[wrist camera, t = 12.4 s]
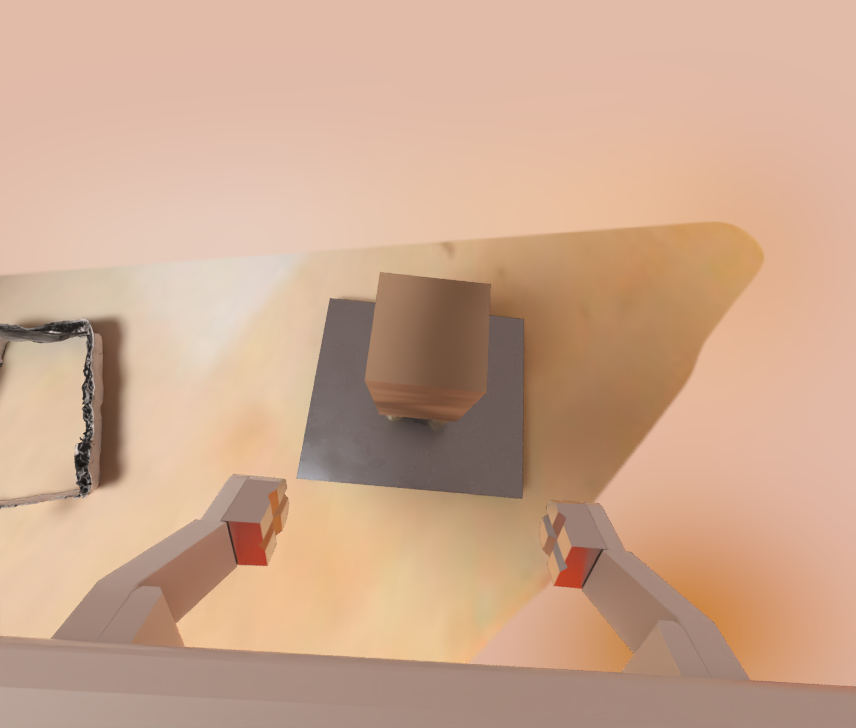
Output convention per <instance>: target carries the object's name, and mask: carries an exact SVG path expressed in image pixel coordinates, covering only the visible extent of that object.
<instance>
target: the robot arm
mask: <svg viewBox="0 0 856 728" xmlns="http://www.w3.org/2000/svg"><path fill="white" fill-rule="evenodd" d="M286 489H287V484H286V480H285V479H279V478H270V477H261V476H249V475H239V474H233V475H232V476H231V477H229V478H228V480H227V481H226V483H225V484H224V486H223V487H222V489H221V490H220V492H219V493H218V495H217V496H216V498H215V499H214V501H213V502H212V504H211V505H210V507H209V508H208V510H207V511H206V513H205V514H204V516H203V517H202V519H201V520H194V521H192V522H191V523H189V524H188V525H186V526H185V527H183V528H181V529H180V530H178V531H177V532H175V533H173V534H172V535H170V536H169V537H167V538H165V539H164V540H162V541H161V542H159V543H158V544H156V545H154V546H153V547H151V548H150V549H148V550H146V551H145V552H143V553H142V554H140V555H139V556H137V557H135V558H134V559H132V560H131V561H129V562H127V563H126V564H124V565H123V566H121V567H120V568H118V569H116V570H115V571H113V572H112V573H110V574H108V575H107V576H105V577H104V578H102V579H101V580H99V581H98V582H97V583H96V584H95V585H94V587H93V588H92V589H91V590H90V592H89V593H88V594H87V595H86V596H85V598H84V599H83V600H82V601H81V602H80V604H79V605H78V606H77V607H76V609H75V610H74V611H73V612H72V613H71V615H70V616H69V617H68V618H67V620H66V621H65V622H64V623H63V624H62V626H61V627H60V628H59V629H58V630H57V632H56V633H55V634H54V635H53V637H52V638H51V639H45V638H28V637H12V636H0V728H856V687H854V686H835V685H819V684H802V683H787V682H770V681H752V680H750V679H749V677H748V676H747V674H746V672H745V671H744V669H743V668H742V666H741V664H740V663H739V661H738V660H737V658H736V657H735V655H734V653H733V652H732V650H731V649H730V647H729V646H728V644H727V642H726V641H725V639H724V637H723V636H722V635H721V633H720V631H719V630H718V628H717V626H716V625H715V623H714V622H713V621H712V620H710V619H709V618H708V617H707V616H706V615H704V614H703V613H702V612H701V611H700V610H699V609H697V608H696V607H695V606H694V605H693V604H691V603H690V602H689V601H688V600H687V599H686V598H684V597H683V596H682V595H681V594H680V593H679V592H677V591H676V590H675V589H674V588H673V587H671V586H670V585H669V584H668V583H667V582H666V581H664V580H663V579H662V578H661V577H660V576H659V575H657V574H656V573H655V572H654V571H653V570H652V569H650V568H649V567H648V566H647V565H646V564H644V563H643V562H642V561H641V560H640V559H638V558H637V557H636V556H635V555H634V554H633V553H631V552H627V551H625V549H624V547H623V545H622V543H621V541H620V539H619V537H618V535H617V533H616V532H615V530H614V528H613V526H612V524H611V522H610V520H609V518H608V516H607V514H606V513H605V511H604V509H603V507H602V506H601V505H600V504H599V503H587V502H575V501H560V500H550V501H549V502H548V504H547V507H546V509H547V512H548V514H547V515H546V516H544V517H543V518H542V521H541V524H540V541H541V545H542V549H543V550H544V551H545V553H546V554H547V555H548V556H549V557H550V558H549V560H548V563H547V565H548V569H549V572H550V575H551V579H552V582H553V585H554V586H561V587H570V588H581V589H582V591H583V592H584V594H585V595H586V596H587V597H588V598H589V600H590V601H591V602H592V603H593V604H594V606H595V607H596V608H597V609H598V611H599V612H600V613H601V614H602V615H603V617H604V618H605V619H606V620H607V622H608V623H609V624H610V625H611V627H612V628H613V629H614V630H615V631H616V633H617V634H618V635H619V636H620V638H621V639H622V640H623V641H624V643H625V644H626V645H627V646H628V647H629V649H630V650H631V651H632V652H633V656H632V657H631V658H630V660H629V661H628V662H627V664H626V665H625V667H624V669H623V670H622V672H623V673H617V672H599V671H583V670H566V669H549V668H532V667H515V666H500V665H499V666H498V665H482V664H467V663H450V662H433V661H416V660H400V659H383V658H366V657H349V656H332V655H315V654H298V653H281V652H264V651H247V650H230V649H214V648H197V647H184V643H183V639H182V637H181V635H180V632H179V630H178V628H177V625H176V623H177V622H178V621H179V620H180V619H181V618H182V617H183V616H184V615H185V614H186V613H187V612H189V611H190V610H191V609H192V608H193V607H194V606H195V605H196V604H197V603H198V602H199V601H200V600H201V599H203V598H204V597H205V596H206V595H207V594H208V593H209V592H210V591H211V590H212V589H213V588H214V587H215V586H217V585H218V584H219V583H220V582H221V581H222V580H223V579H224V578H225V577H226V576H227V575H228V574H229V573H231V572H232V571H233V570H234V569H235V568H236V567H237V565H256V566H268V564H269V561H270V559H271V557H272V554H273V552H274V550H275V547H276V545H277V543H276V535H277V534H279V533H280V532H281V531H282V530H283V528H284V525H285V523H286V519H287V515H288V510H289V500H288V497H287V496H286V495H285V494H284V493H285V491H286Z"/></svg>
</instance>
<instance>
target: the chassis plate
mask: <svg viewBox="0 0 856 728" xmlns="http://www.w3.org/2000/svg"><path fill="white" fill-rule="evenodd" d="M375 304H376V303H369V302H360V301H350V300H341V299H332V298H330V301H329V306H328V312H327V317H326V323H325V328H324V333H323V339H322V344H321V349H320V355H319V360H318V366H317V371H316V376H315V382H314V387H313V392H312V398H311V403H310V409H309V414H308V419H307V425H306V430H305V435H304V441H303V446H302V451H301V457H300V462H299V468H298V473H297V478H296V479H308V480H319V481H330V482H341V483H352V484H364V485H375V486H386V487H397V488H409V489H420V490H431V491H442V492H453V493H465V494H476V495H487V496H498V497H509V498H521V499H522V497H523V371H524V319H519V318H510V317H500V316H491V315H489V341H488V367H487V392H486V393H485V394H484V395H483V396H482V397H481V398H480V399H479V400H478V401H477V402H476V403H475V404H474V405H473V406H472V407H471V408H470V409H469V410H468V411H467V412H466V413H465V414H464V415H463V416H462V417H461V418H460V419H459V420H458V421H457V422H452V421H441V420H431V419H420V418H410V417H399V416H389V415H379V412H378V410H377V408H376V405H375V403H374V401H373V399H372V396H371V394H370V392H369V389H368V387H367V385H366V382H365V374H366V367H367V360H368V353H369V346H370V339H371V332H372V325H373V318H374V311H375Z"/></svg>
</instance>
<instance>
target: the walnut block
mask: <svg viewBox="0 0 856 728" xmlns="http://www.w3.org/2000/svg"><path fill="white" fill-rule="evenodd" d="M490 288H491V284H483V283H474V282H465V281H456V280H447V279H438V278H428V277H419V276H410V275H401V274H392V273H383V272H380V276H379V283H378V290H377V297H376V304H375V311H374V318H373V325H372V332H371V339H370V346H369V353H368V360H367V367H366V374H365V382H366V385H367V387H368V389H369V392H370V394H371V396H372V399H373V401H374V403H375V405H376V408H377V410H378V412H379V415H389V416H399V417H410V418H420V419H431V420H441V421H452V422H457V421H458V420H459V419H460V418H461V417H462V416H463V415H464V414H465V413H466V412H467V411H468V410H469V409H470V408H471V407H472V406H473V405H474V404H475V403H476V402H477V401H478V400H479V399H480V398H481V397H482V396H483V395H484V394H485V393H486V392H487V367H488V341H489V314H490Z"/></svg>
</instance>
